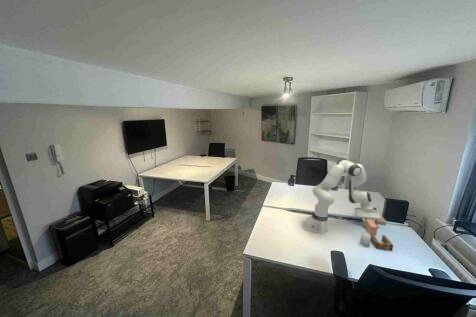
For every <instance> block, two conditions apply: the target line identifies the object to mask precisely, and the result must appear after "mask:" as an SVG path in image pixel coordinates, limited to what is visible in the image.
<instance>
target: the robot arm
mask: <svg viewBox="0 0 476 317" xmlns="http://www.w3.org/2000/svg"><path fill="white" fill-rule="evenodd" d="M344 174H345V175H349V176H350V177H351V179H349V180H348V181H349V182H348V196H347V199H348V201H349V203H351V204H360V206H359V207H355V208H354V212H355V214H354V216H355V217H356V218H358V219H361V220H362V221H363V223H364V224H365V223H366V221H365V220H366V219H371V220H372V221H373V222H374V223H375V219H376V220H379V219H381V216H380V211H379V208H377V207H375V206H372V204H371V202H372V200H373V199H372V196H371V194H370V193H369V192H367V191H360V192H354V191H355V190H354V188H356V187H357V186H360V185H363V184H365V183H366V181H367V178H368V177H367V173H366V170H365V167H364V166H363V164H360V163H354V162H353V161H351V160H347V159H339V160H338V161H337V162H336V164H333V166H332V167H331V168H330V169H329V171H328V172H327V173H326V176H325V177H324V179H323V180H322V182H320V183H319V184H318V185H315V186H314V187H313V188H312V194H313V196H314V197H315V198H317V200H318V202H317V203H316V204H315V206H314V211H310V212H311V213H310V214H311V215H310V216H308V217H306V218H305V220H304V221H302V224H301V226H302V228H303V229H304V230H305V231H307V230H308V232H312V233H316V234H324V233H326V232H328V231H329V228H328V219H329V218H328V217H329V215H328V213H329V207H330V206H331V205H332V204H334V202H335V197H334V196H333V194H332V192H330V190H331V189H333V188H336V187H337V186H338V184H339V183H340V181H341V179H342V177H343V175H344Z"/></svg>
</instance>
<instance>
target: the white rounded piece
mask: <svg viewBox="0 0 476 317" xmlns="http://www.w3.org/2000/svg"><path fill="white" fill-rule="evenodd" d="M370 239H371V235H370V234H369V233H368V232H366V231H362V232H361V235H360V241H359V243H360V245H361V246H362V247H366V248H367V247H368V248H369V247H370V244H371V241H370Z"/></svg>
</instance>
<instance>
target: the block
mask: <svg viewBox="0 0 476 317" xmlns="http://www.w3.org/2000/svg"><path fill="white" fill-rule="evenodd" d="M364 220H365V221H366V223H364V226H365V227H364V228H365V230H366V231H367V233H369V234H373V235H374V236H377V233H378V228H379V227H378V226H377V224H376V223H375V221H374V222H373V220H372V219H367V218H365V219H364Z"/></svg>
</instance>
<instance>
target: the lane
mask: <svg viewBox="0 0 476 317" xmlns="http://www.w3.org/2000/svg"><path fill="white" fill-rule="evenodd" d="M370 235H371V239H370V243H371V244H372V245H373V246H374V248H375V249H376V250H384V251H390V252H392V251H393V249H394V245H393V243H392V242H391V240H390V239H389V238H387V236H386V235H382V237H381V242H380V241H378V239H377V238H376V235H373V234H370Z"/></svg>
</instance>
